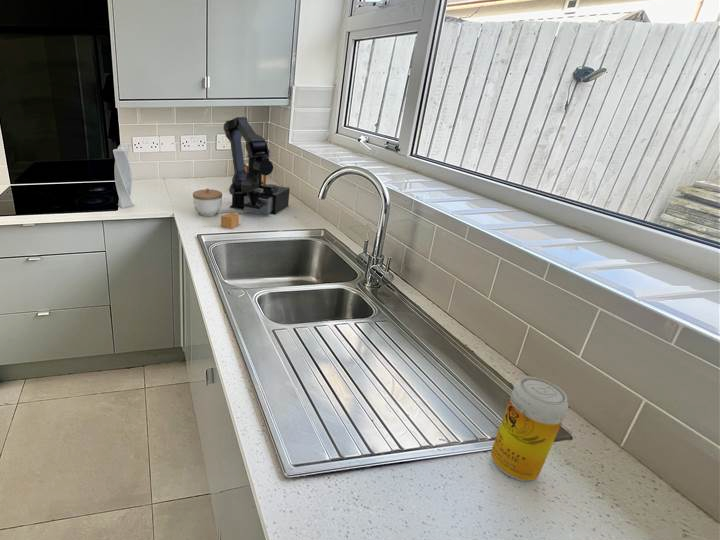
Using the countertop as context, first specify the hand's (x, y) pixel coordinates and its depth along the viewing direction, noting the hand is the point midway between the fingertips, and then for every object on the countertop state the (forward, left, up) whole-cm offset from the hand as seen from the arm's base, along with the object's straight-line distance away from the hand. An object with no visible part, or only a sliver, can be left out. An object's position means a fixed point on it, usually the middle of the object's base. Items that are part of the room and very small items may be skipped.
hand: (253, 206), depth 170 cm
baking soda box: (-15, +30, -5) cm, 34 cm away
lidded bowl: (-19, -6, -5) cm, 21 cm away
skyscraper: (-57, -17, -5) cm, 60 cm away
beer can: (+88, -83, -5) cm, 121 cm away
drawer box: (0, +16, -5) cm, 16 cm away
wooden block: (-3, -14, -5) cm, 15 cm away
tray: (0, +7, -4) cm, 8 cm away
